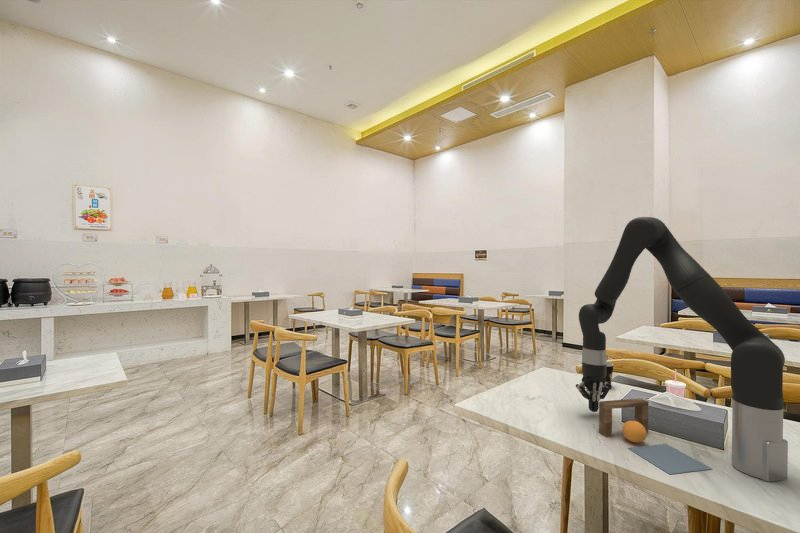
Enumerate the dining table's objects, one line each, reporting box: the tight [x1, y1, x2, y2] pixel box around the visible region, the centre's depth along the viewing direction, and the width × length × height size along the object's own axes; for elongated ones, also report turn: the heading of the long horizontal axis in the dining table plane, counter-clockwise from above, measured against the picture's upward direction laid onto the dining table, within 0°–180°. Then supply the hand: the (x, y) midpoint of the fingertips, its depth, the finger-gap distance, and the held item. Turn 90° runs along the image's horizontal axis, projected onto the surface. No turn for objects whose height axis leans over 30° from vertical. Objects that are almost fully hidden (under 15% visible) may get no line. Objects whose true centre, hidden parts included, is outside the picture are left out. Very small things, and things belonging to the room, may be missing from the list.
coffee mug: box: [605, 361, 615, 385], centre depth 154 cm, size 12×9×10 cm
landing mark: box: [627, 443, 713, 476], centre depth 97 cm, size 13×13×1 cm
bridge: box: [598, 397, 649, 438], centre depth 112 cm, size 3×15×10 cm, turn 101°
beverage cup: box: [664, 368, 687, 399], centre depth 133 cm, size 6×6×14 cm
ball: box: [622, 420, 648, 444], centre depth 107 cm, size 6×6×6 cm
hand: (593, 411), depth 125 cm, fingers closed
